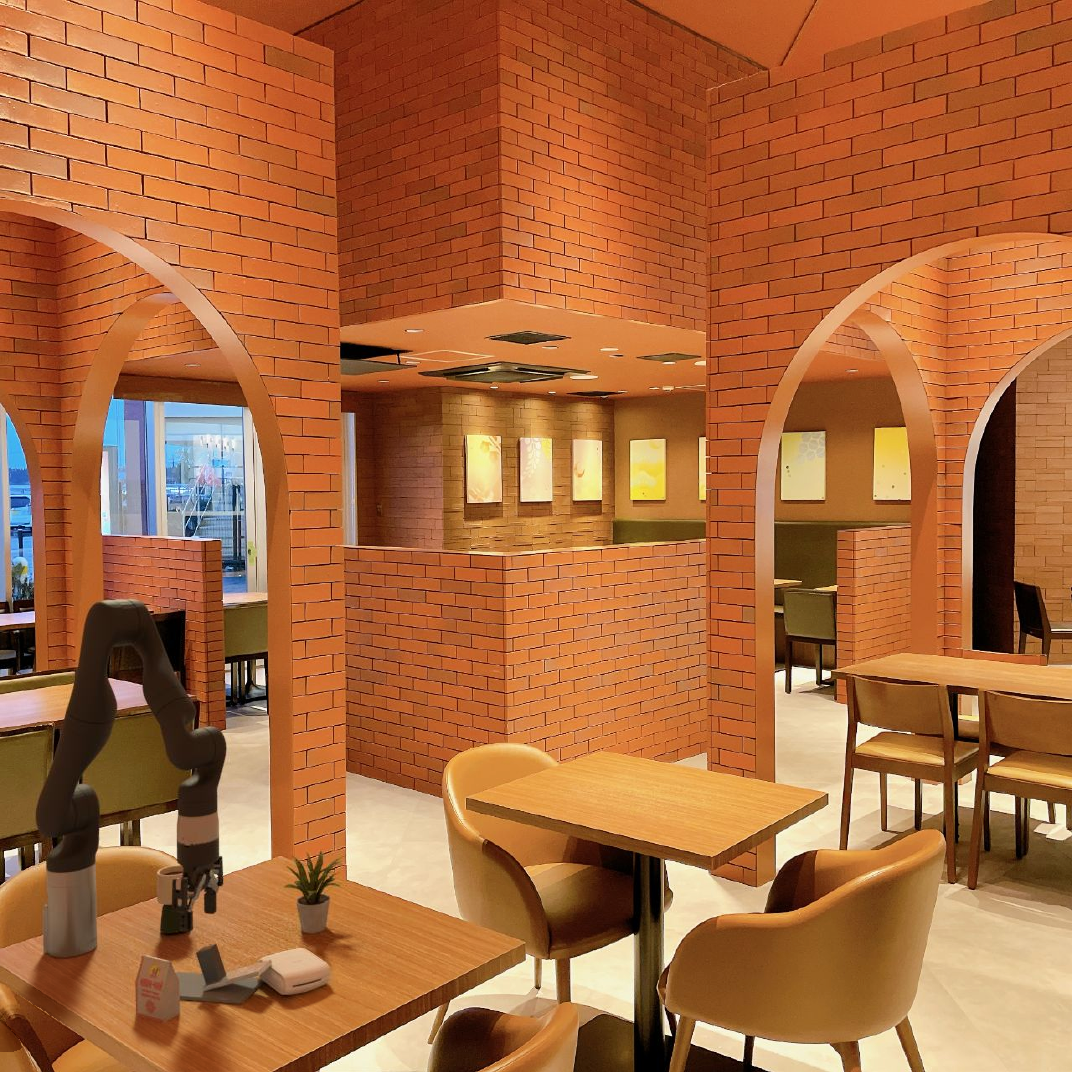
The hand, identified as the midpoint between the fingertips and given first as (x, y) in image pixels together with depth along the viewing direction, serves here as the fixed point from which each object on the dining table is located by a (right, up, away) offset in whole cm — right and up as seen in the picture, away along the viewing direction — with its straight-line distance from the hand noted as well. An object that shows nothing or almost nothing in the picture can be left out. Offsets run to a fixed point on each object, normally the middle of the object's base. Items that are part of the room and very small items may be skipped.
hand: (198, 922), depth 189 cm
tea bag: (-4, -13, -10) cm, 17 cm away
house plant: (+16, -12, +27) cm, 33 cm away
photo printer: (+14, -10, +6) cm, 18 cm away
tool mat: (+2, -13, 0) cm, 13 cm away
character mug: (-14, -13, +27) cm, 33 cm away
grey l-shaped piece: (+8, -10, -1) cm, 13 cm away
